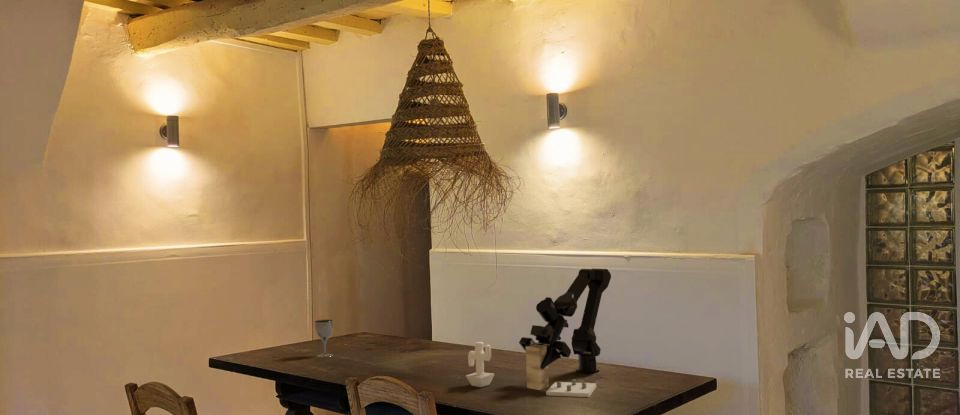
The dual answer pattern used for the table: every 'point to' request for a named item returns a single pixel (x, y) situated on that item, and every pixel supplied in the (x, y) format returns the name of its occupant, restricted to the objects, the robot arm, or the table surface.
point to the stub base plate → (571, 389)
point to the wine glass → (324, 333)
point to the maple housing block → (536, 367)
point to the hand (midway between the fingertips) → (534, 367)
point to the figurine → (479, 365)
